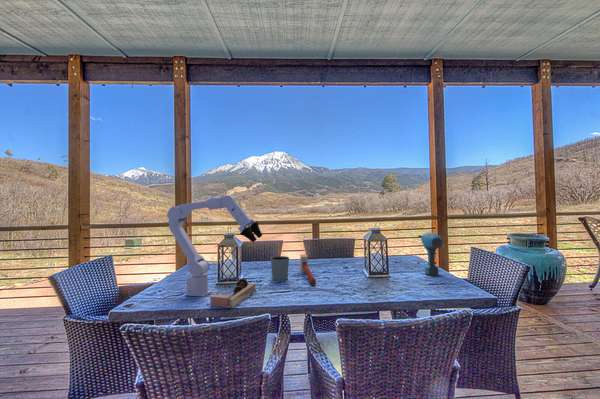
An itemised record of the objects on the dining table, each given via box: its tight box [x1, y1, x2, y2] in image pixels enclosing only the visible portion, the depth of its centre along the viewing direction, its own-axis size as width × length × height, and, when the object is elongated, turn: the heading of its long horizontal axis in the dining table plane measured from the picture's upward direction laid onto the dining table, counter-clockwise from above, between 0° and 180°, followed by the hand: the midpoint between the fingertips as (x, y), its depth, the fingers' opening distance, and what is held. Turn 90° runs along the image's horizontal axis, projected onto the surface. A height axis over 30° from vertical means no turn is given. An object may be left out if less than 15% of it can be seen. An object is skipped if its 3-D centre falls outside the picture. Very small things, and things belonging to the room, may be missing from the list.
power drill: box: [418, 232, 443, 277], centre depth 175 cm, size 28×9×23 cm, turn 179°
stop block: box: [210, 293, 232, 308], centre depth 130 cm, size 8×3×4 cm, turn 74°
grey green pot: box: [270, 255, 290, 283], centre depth 169 cm, size 10×10×12 cm
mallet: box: [299, 253, 317, 286], centre depth 170 cm, size 11×4×30 cm
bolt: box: [233, 278, 249, 296], centre depth 147 cm, size 6×5×15 cm
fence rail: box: [228, 283, 256, 309], centre depth 139 cm, size 2×23×4 cm, turn 164°
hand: (257, 238), depth 144 cm, fingers open, 7 cm apart
